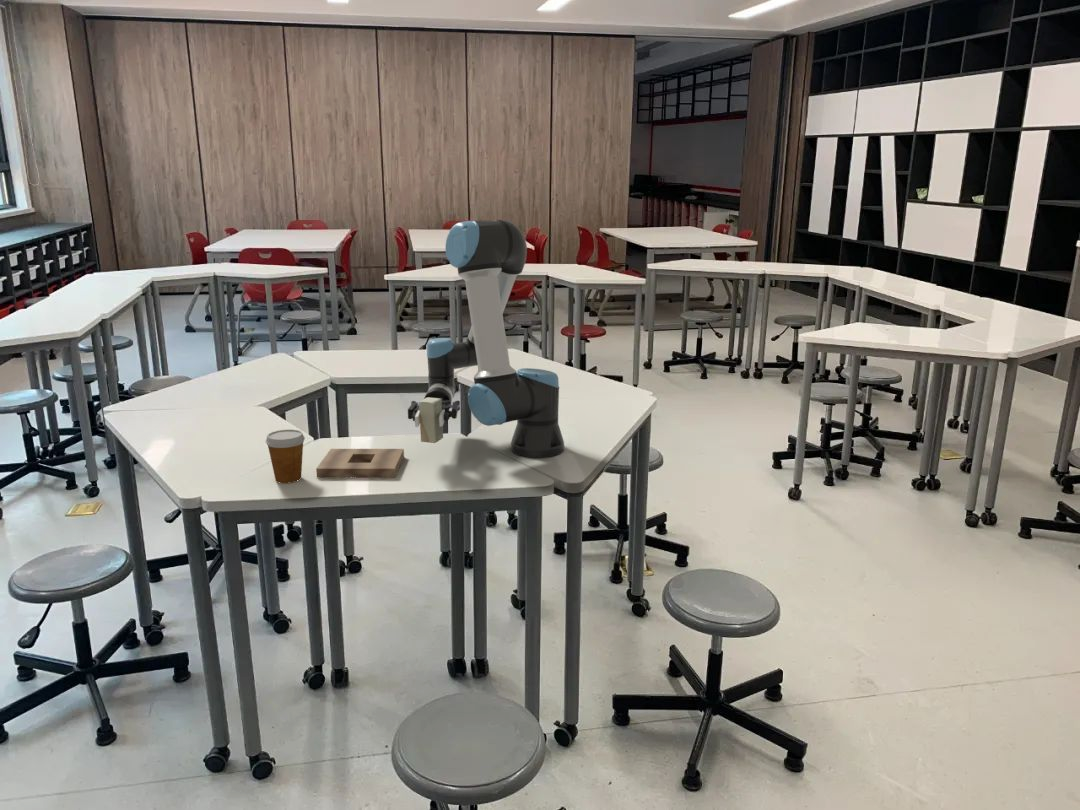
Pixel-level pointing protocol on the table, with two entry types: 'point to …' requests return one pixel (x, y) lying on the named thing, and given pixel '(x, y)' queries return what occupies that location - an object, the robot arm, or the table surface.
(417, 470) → the table surface
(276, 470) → the disposable coffee cup
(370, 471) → the socket block
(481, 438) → the table surface
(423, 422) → the box
